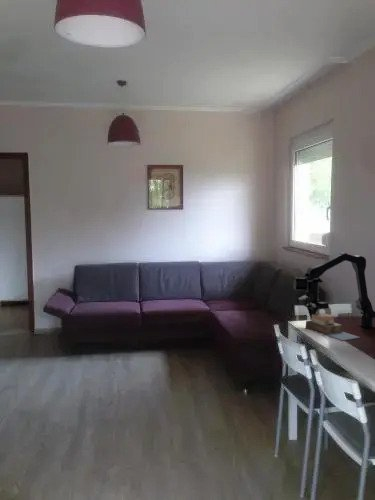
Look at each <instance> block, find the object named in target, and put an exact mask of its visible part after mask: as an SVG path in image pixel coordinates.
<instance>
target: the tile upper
mask: <svg viewBox="0 0 375 500" xmlns="http://www.w3.org/2000/svg"><path fill="white" fill-rule="evenodd" d="M312 318H313V319H317V320H320V321H329V320H334V321H335V316H334V315H332V314H331V315H328V314H325V312H319V313H318V314H312Z"/></svg>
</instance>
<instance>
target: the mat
mask: <svg viewBox="0 0 375 500" xmlns="http://www.w3.org/2000/svg"><path fill="white" fill-rule="evenodd" d="M325 336H327V337H330V338H333V339H335V340H338V341H341V342H345V341H349V340H350V341H351V340H357V339H360V338H361V337H360V336H357V335H355V334H351V333H349V332H345V331H342V332H337V333H331V334H326V335H325Z"/></svg>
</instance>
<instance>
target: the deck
mask: <svg viewBox="0 0 375 500" xmlns="http://www.w3.org/2000/svg"><path fill="white" fill-rule="evenodd" d="M311 321H312V319H310V320H306V321H305V329H306V330H309V331H312V332H315V333H318V334H320V335H324V336H326V334H331V333H337V332H343V324H340V323H337V322H334V324H327V325H321V324H317V323H314V322H311Z"/></svg>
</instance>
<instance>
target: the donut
mask: <svg viewBox="0 0 375 500" xmlns="http://www.w3.org/2000/svg"><path fill="white" fill-rule="evenodd" d="M323 310H324V313H325V314H328V315H332V309H331V307H330V306H329V308H326V309H323ZM320 311H321V309H318V310H317V312H316V314H318V313H320Z"/></svg>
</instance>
